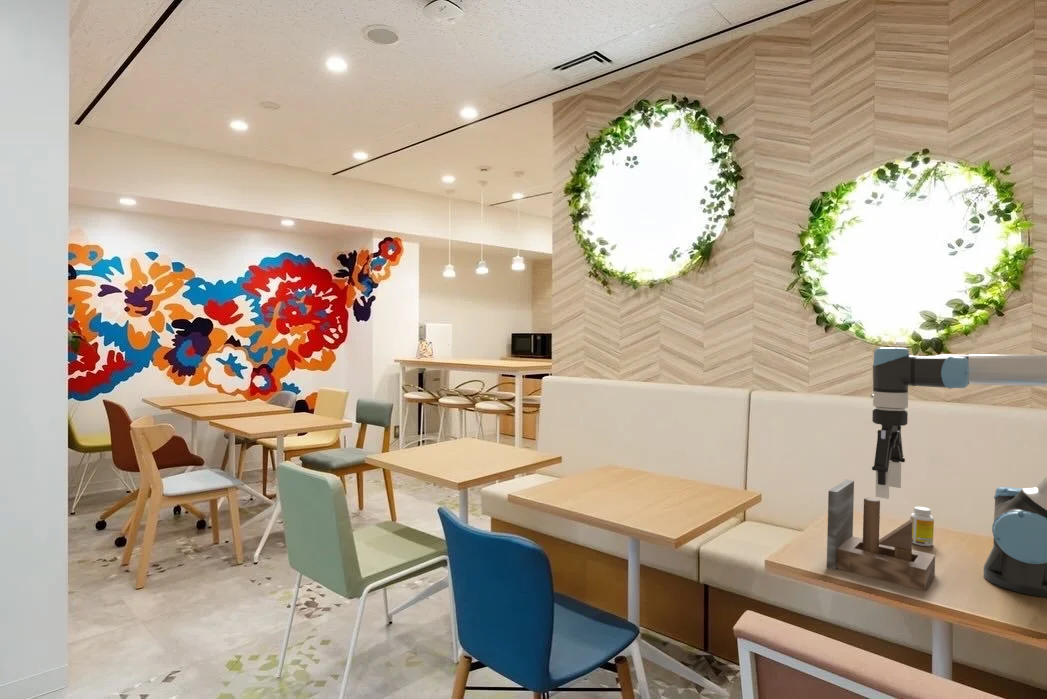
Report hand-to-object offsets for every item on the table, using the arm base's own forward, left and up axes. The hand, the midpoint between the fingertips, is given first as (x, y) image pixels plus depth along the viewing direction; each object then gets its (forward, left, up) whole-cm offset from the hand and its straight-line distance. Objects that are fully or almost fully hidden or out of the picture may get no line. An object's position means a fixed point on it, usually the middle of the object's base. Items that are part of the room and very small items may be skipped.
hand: (888, 492), depth 148 cm
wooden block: (0, 0, -21) cm, 21 cm away
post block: (0, 0, -20) cm, 20 cm away
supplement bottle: (-3, -30, -21) cm, 36 cm away
